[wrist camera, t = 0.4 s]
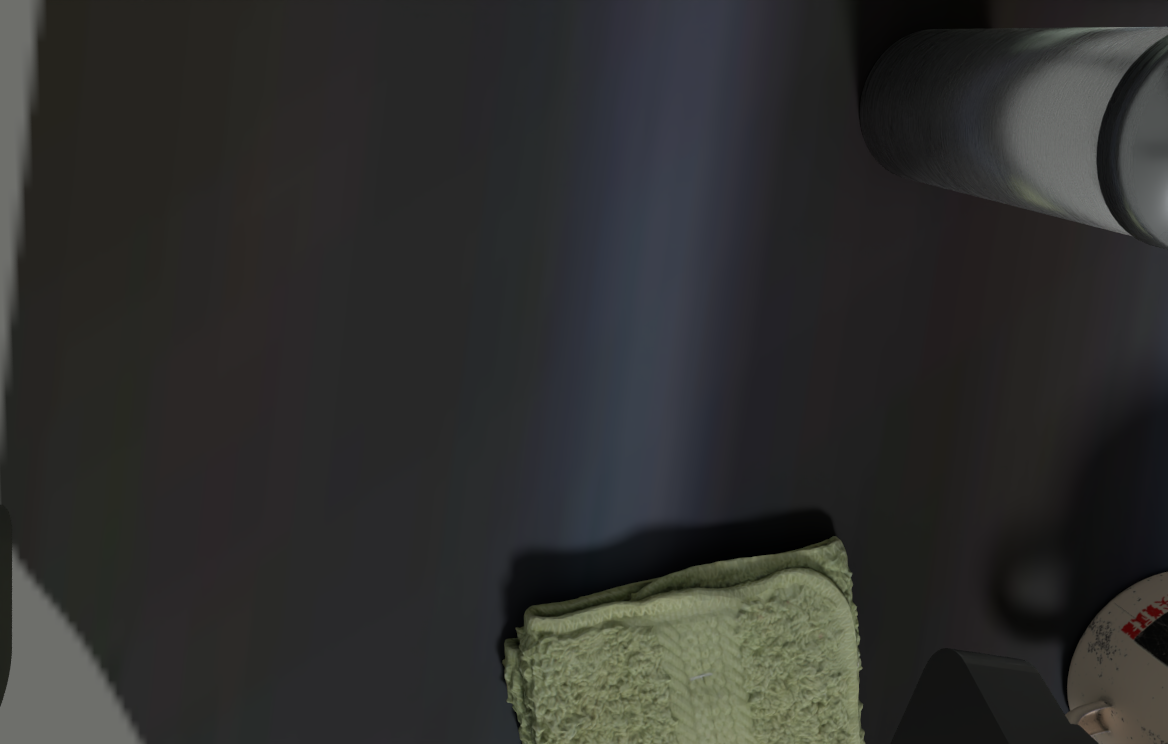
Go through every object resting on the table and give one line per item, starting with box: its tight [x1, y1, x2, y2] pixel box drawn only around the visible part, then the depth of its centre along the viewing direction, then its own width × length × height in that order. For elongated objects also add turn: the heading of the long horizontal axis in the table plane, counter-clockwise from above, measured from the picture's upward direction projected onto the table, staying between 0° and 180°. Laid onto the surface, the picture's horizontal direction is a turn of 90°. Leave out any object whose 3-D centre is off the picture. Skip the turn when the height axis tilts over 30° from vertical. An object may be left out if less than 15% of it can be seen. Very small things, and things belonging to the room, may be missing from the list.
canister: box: [860, 27, 1168, 250], centre depth 30 cm, size 5×5×13 cm
